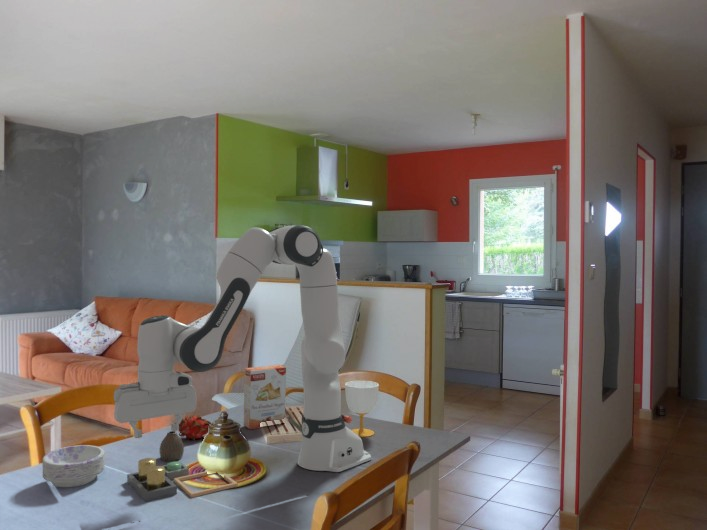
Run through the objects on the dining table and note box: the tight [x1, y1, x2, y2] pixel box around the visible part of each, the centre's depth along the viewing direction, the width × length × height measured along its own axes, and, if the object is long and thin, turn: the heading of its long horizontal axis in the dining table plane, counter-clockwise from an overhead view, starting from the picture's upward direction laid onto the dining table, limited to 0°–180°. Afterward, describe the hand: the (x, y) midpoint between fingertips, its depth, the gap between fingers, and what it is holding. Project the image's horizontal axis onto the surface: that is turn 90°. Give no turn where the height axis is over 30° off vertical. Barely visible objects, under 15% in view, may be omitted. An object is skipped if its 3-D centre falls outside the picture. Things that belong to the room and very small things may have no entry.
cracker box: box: [243, 364, 287, 430], centre depth 217 cm, size 14×6×21 cm, turn 124°
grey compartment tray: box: [126, 471, 178, 502], centre depth 158 cm, size 8×15×3 cm, turn 36°
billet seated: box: [137, 457, 157, 482], centre depth 160 cm, size 4×4×6 cm
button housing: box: [162, 462, 190, 481], centre depth 167 cm, size 6×6×3 cm
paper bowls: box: [42, 444, 106, 488], centre depth 163 cm, size 15×15×8 cm
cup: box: [344, 379, 380, 438], centre depth 209 cm, size 12×12×17 cm
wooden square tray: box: [173, 470, 238, 498], centre depth 161 cm, size 13×13×2 cm
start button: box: [166, 461, 182, 472], centre depth 167 cm, size 4×4×3 cm
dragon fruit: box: [177, 414, 212, 441], centre depth 201 cm, size 8×8×12 cm
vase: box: [159, 430, 185, 463], centre depth 180 cm, size 7×7×9 cm
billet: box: [147, 465, 165, 491], centre depth 155 cm, size 4×4×6 cm
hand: (156, 433), depth 154 cm, fingers open, 8 cm apart
